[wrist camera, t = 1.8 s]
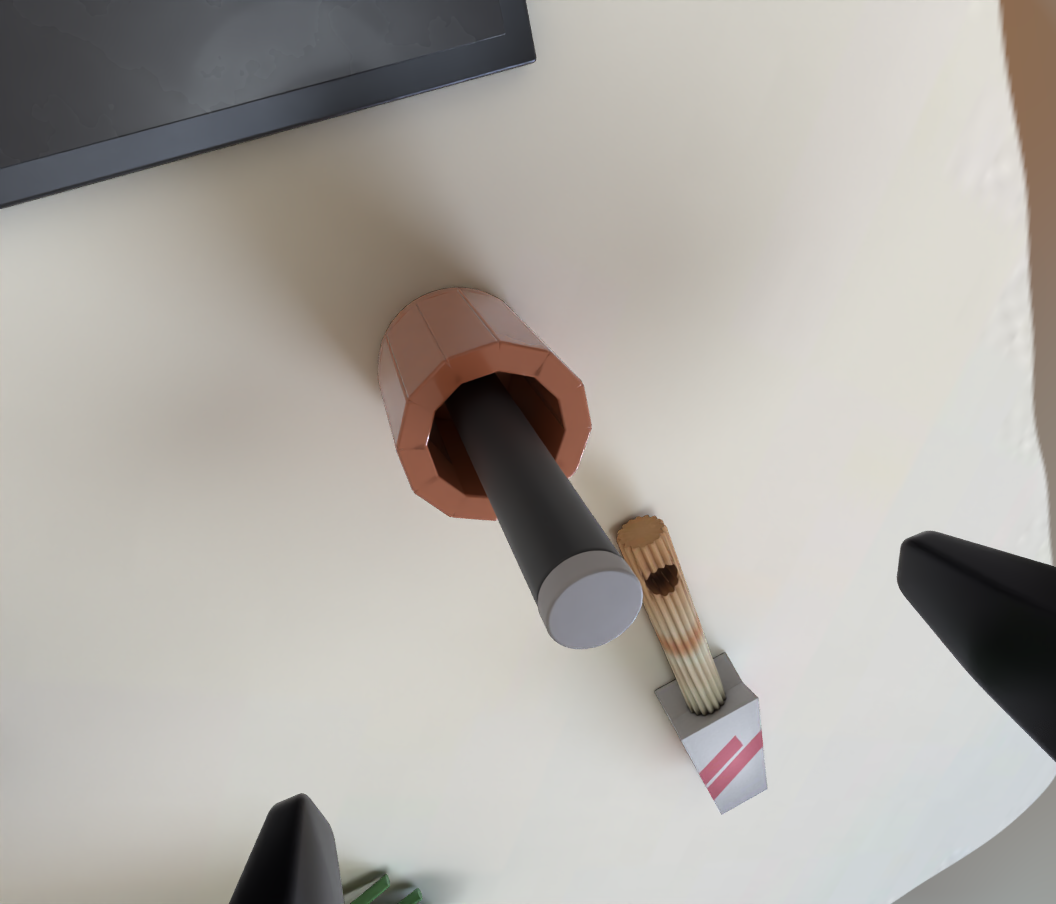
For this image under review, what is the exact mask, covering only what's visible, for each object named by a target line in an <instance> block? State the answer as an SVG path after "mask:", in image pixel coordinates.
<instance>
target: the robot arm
mask: <svg viewBox="0 0 1056 904" xmlns="http://www.w3.org/2000/svg"><path fill="white" fill-rule="evenodd" d="M897 582H898V586H899V588H900V590H901V592H902V593H903V595H904V596H905V597H906V599H907V600H908V601H909V602H910V603H911V605H912V606H913V607H914V608H915V610H916V611H917V612H918V613H919V614H920V616H921V617H922V618H923V619H924V620H925V622H926V623H927V624H928V625H929V626H930V628H931V629H932V630H933V631H934V632H935V634H936V635H937V636H938V637H939V638H940V640H941V641H942V642H943V643H944V645H945V646H946V647H947V648H948V649H949V651H950V652H951V653H952V654H953V655H954V657H955V658H956V659H957V660H958V661H959V663H960V664H961V665H962V666H963V667H964V669H965V670H966V671H967V672H968V673H969V674H970V675H971V676H972V678H973V679H974V680H975V681H976V682H977V683H978V684H979V685H980V686H981V687H982V688H983V689H984V690H985V691H986V692H987V694H988V695H989V696H990V697H991V698H992V699H993V700H994V701H995V702H996V703H997V704H998V705H999V706H1000V707H1001V708H1002V709H1003V710H1004V711H1005V712H1006V713H1007V714H1008V715H1009V716H1010V717H1011V718H1012V719H1013V720H1014V721H1015V722H1016V723H1017V724H1018V725H1019V726H1020V727H1021V728H1022V729H1023V730H1024V731H1025V732H1026V733H1027V734H1028V735H1029V736H1030V737H1031V738H1032V739H1033V740H1034V741H1035V742H1036V743H1037V744H1038V745H1039V746H1040V747H1041V748H1042V749H1043V750H1044V751H1045V752H1046V753H1047V754H1048V755H1049V756H1050V757H1051V758H1052V759H1053V760H1054V761H1055V762H1056V567H1054V566H1051V565H1047V564H1044V563H1041V562H1037V561H1034V560H1031V559H1027V558H1024V557H1020V556H1017V555H1014V554H1010V553H1007V552H1004V551H1000V550H997V549H993V548H990V547H987V546H983V545H980V544H976V543H973V542H970V541H966V540H963V539H960V538H956V537H953V536H949V535H946V534H943V533H939V532H935V531H925V532H921V533H919V534H917V535H914V536H912V537H910V538H907V539H905V540H904V541H903V543H902V544H901V548H900V556H899V564H898V572H897ZM229 904H345V903H344V897H343V890H342V884H341V877H340V870H339V864H338V857H337V851H336V844H335V839H334V835H333V832H332V829H331V826H330V824H329V823H328V821H327V820H326V819H325V817H324V816H323V815H322V813H321V812H320V811H319V809H318V808H317V807H316V805H315V804H314V803H313V801H312V800H311V799H310V798H309V797H308V796H307V795H306V794H303V793H301V794H298V795H295V796H293V797H291V798H288V799H286V800H283V801H281V802H279V803H277V804H275V805H274V806H273V807H272V808H271V810H270V811H269V813H268V815H267V817H266V820H265V822H264V824H263V827H262V829H261V831H260V833H259V836H258V838H257V840H256V843H255V845H254V847H253V850H252V852H251V854H250V856H249V859H248V861H247V863H246V866H245V868H244V870H243V873H242V875H241V877H240V879H239V882H238V884H237V886H236V889H235V891H234V893H233V896H232V898H231V900H230V902H229Z"/></svg>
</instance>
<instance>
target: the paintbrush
mask: <svg viewBox="0 0 1056 904" xmlns="http://www.w3.org/2000/svg"><path fill="white" fill-rule="evenodd" d="M617 543H618V545H619V548H620V550H621V552H622V555H623V557H624V559H625V561H626V562H627V564H628V565H629V567H630V568H631V569H632V571H633V572H634V574H635V575H636V577H637V578H638V580H639V581H640V583H641V586H642V591H643V604H644V606H645V608H646V611H647V613H648V615H649V618H650V620H651V622H652V625H653V627H654V629H655V631H656V634H657V636H658V638H659V641H660V643H661V645H662V647H663V650H664V652H665V654H666V657H667V659H668V661H669V663H670V666H671V668H672V670H673V673H674V675H675V677H676V680H674V681H672V682H670V683H669V684H667V685H665V686H663V687H661V688H659V689H658V690H656V691H654V692H655V694H656V696H657V697H658V699H659V701H660V703H661V705H662V707H663V708H664V710H665V712H666V714H667V716H668V718H669V719H670V721H671V723H672V725H673V727H674V729H675V730H676V732H677V734H678V736H679V738H680V740H681V742H682V743H683V745H684V747H685V749H686V751H687V753H688V754H689V756H690V758H691V760H692V762H693V764H694V765H695V767H696V769H697V771H698V773H699V775H700V776H701V778H702V780H703V782H704V784H705V786H706V787H707V789H708V791H709V793H710V795H711V797H712V798H713V800H714V802H715V804H716V806H717V808H718V809H719V811H720V813H721V815H722V814H724V813H725V812H727V811H729V810H731V809H733V808H734V807H736V806H738V805H740V804H741V803H743V802H745V801H747V800H748V799H750V798H752V797H754V796H756V795H757V794H759V793H761V792H763V791H764V790H766V789H767V781H766V770H765V760H764V750H763V740H762V730H761V720H760V710H759V700H758V697H757V696H756V695H755V694H754V693H753V692H752V691H751V690H750V689H749V688H748V687H747V686H746V685H745V684H744V683H743V682H742V680H741V679H740V677H739V675H738V673H737V672H736V670H735V668H734V666H733V665H732V663H731V661H730V659H729V658H728V656H727V654H726V652H725V653H723V654H721V655H720V656H718V657H716V658H714V659H713V658H712V655H711V653H710V650H709V647H708V644H707V641H706V638H705V635H704V632H703V629H702V626H701V624H700V621H699V618H698V615H697V612H696V609H695V607H694V604H693V601H692V598H691V595H690V592H689V590H688V587H687V584H686V581H685V578H684V575H683V572H682V570H681V567H680V564H679V561H678V558H677V555H676V553H675V550H674V547H673V544H672V541H671V538H670V536H669V533H668V530H667V527H666V526H665V525H664V523H663V521H662V520H660V519H657V517H656V516H652V517H649V516H648V515H646V516H644V517H640V516H638V517H636V518H635V520H629V522H628V523H627V524H624V525H622V529H621V530H619V531H618V537H617Z"/></svg>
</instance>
